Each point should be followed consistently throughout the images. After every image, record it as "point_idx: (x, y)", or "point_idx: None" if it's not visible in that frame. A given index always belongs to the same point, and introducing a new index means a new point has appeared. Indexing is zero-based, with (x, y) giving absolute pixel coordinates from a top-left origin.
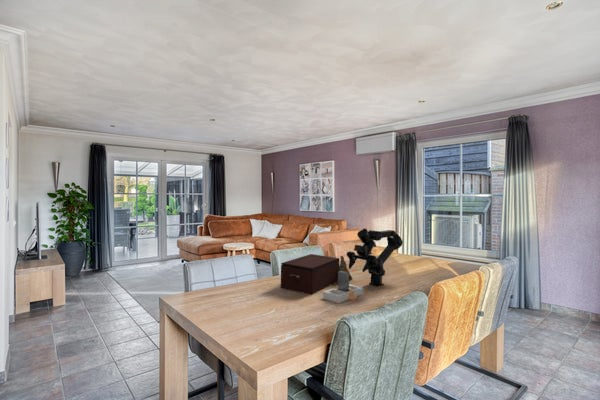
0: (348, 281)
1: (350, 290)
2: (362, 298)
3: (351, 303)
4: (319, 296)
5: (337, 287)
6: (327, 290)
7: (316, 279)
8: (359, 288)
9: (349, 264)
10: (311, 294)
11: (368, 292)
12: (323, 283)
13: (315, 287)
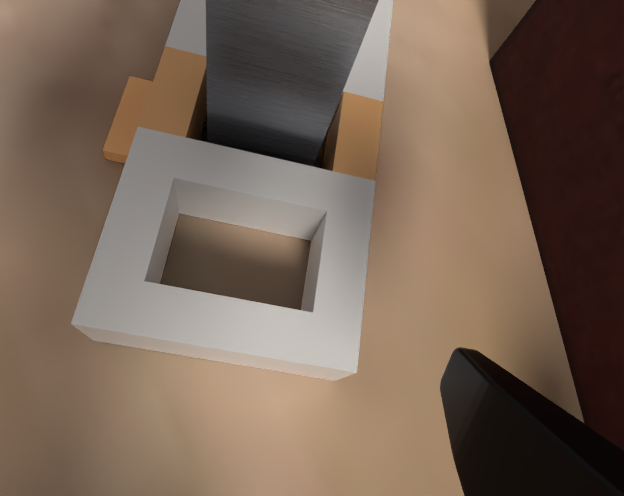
0: (209, 38)
1: (182, 123)
2: (46, 190)
3: (102, 18)
4: (419, 52)
5: (363, 148)
6: (381, 19)
7: (594, 32)
8: (108, 258)
9: (551, 410)
10: (492, 59)
11: (43, 466)
12: (579, 231)
13: (532, 77)
